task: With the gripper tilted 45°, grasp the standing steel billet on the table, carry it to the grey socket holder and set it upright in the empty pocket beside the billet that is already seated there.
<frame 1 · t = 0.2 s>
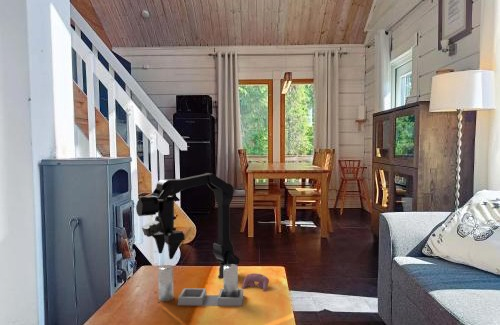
hand: (165, 256, 132), 15 cm above the table, tool pointing down, fingers open, 9 cm apart
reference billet: (230, 300, 124), resting on grey socket holder
billet: (166, 300, 127), on the table
video game controller: (255, 290, 136), on the table
grey socket holder: (211, 303, 125), on the table
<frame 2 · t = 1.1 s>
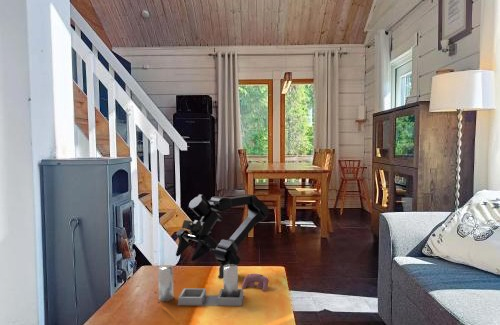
hand: (184, 258, 133), 13 cm above the table, tool tilted 45°, fingers open, 9 cm apart
nothing on the table moved.
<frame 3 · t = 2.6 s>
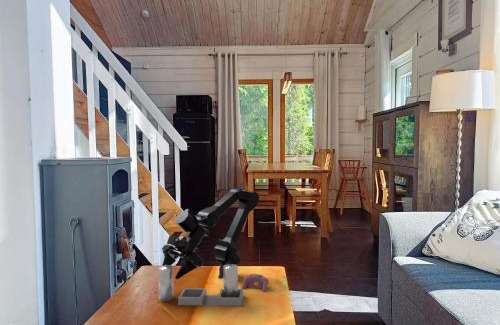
hand: (168, 275, 128), 9 cm above the table, tool tilted 45°, fingers open, 9 cm apart
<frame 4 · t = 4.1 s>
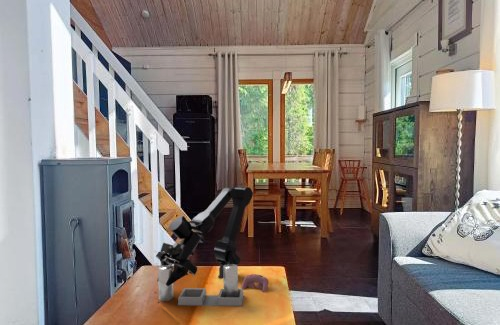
hand: (162, 283, 126), 7 cm above the table, tool tilted 45°, fingers closed on billet, 5 cm apart
billet: (166, 300, 127), on the table, touching gripper
everything else where it was.
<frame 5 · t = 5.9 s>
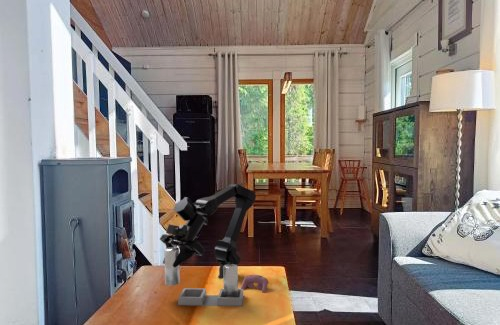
hand: (168, 265, 125), 13 cm above the table, tool tilted 45°, fingers closed on billet, 5 cm apart
billet: (172, 282, 126), point 7 cm above the table, touching gripper
when the fingers open (9 cm above the table, at t = 7.9 s): billet drops 1 cm, resting on grey socket holder.
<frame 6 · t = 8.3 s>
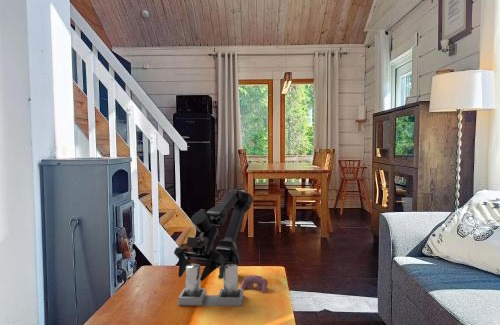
hand: (190, 278, 124), 9 cm above the table, tool tilted 45°, fingers open, 9 cm apart
billet: (193, 299, 125), point 1 cm above the table, touching grey socket holder
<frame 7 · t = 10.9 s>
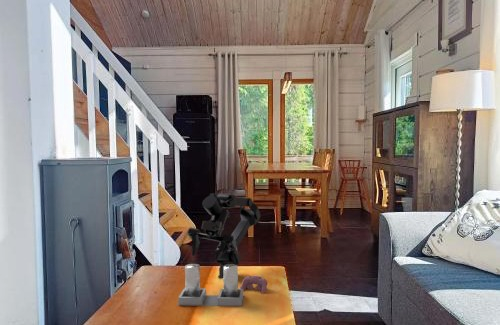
hand: (204, 258, 133), 13 cm above the table, tool tilted 40°, fingers open, 9 cm apart
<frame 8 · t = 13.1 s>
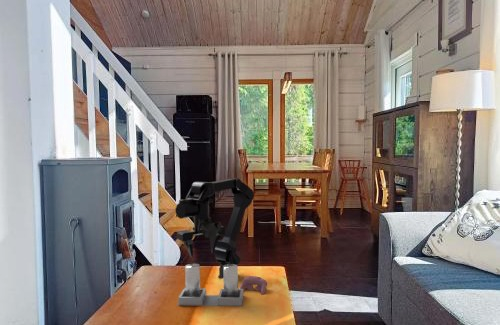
hand: (202, 254, 138), 13 cm above the table, tool pointing down, fingers open, 9 cm apart
at the end: billet 0.0 cm from the target spot on the grey socket holder, point 1.0 cm above the grey socket holder's base; billet tilted 1°; the gripper is holding nothing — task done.
